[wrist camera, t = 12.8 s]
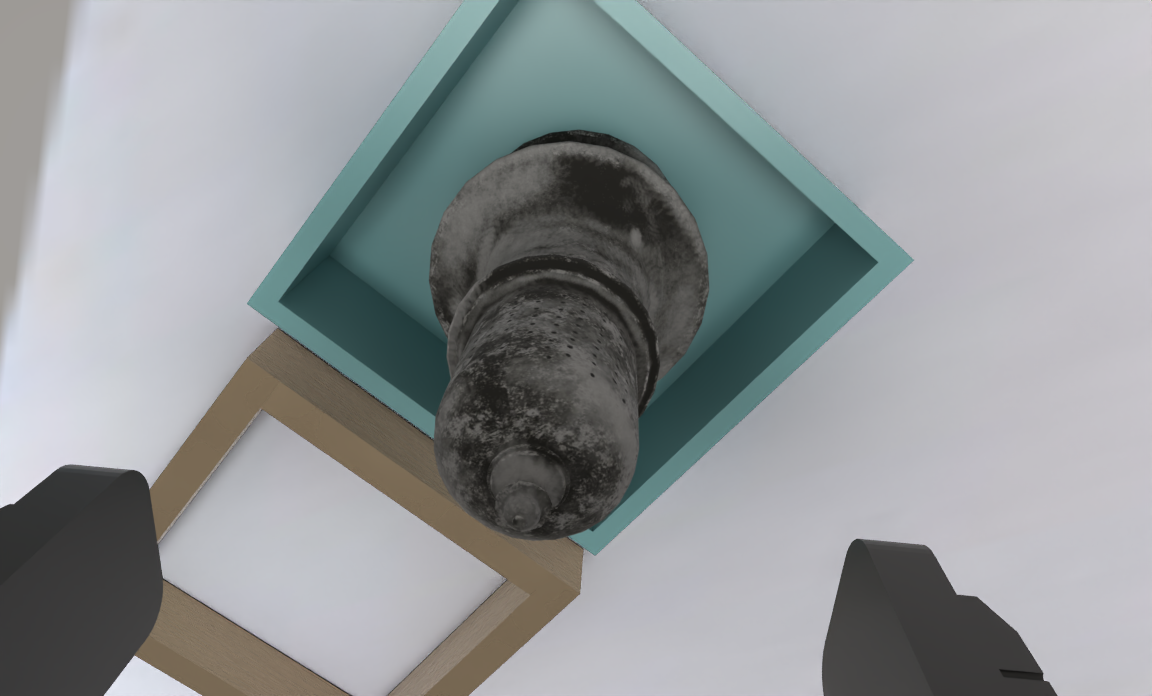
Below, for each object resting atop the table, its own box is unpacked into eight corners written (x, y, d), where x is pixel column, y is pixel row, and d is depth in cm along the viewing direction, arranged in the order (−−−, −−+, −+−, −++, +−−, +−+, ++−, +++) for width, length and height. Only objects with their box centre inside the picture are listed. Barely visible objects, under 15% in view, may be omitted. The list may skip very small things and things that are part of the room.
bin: (861, 211, 20) (914, 260, 17) (599, 468, 24) (595, 555, 20) (551, -79, 18) (533, -97, 14) (310, 250, 22) (246, 303, 18)
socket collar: (583, 548, 25) (580, 593, 23) (380, 739, 29) (363, 791, 27) (277, 327, 22) (247, 358, 21) (99, 567, 26) (59, 610, 24)
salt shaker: (497, 366, 22) (367, 744, 11) (429, 149, 20) (179, 348, 9) (715, 321, 21) (814, 681, 10) (670, 89, 19) (730, 225, 8)
